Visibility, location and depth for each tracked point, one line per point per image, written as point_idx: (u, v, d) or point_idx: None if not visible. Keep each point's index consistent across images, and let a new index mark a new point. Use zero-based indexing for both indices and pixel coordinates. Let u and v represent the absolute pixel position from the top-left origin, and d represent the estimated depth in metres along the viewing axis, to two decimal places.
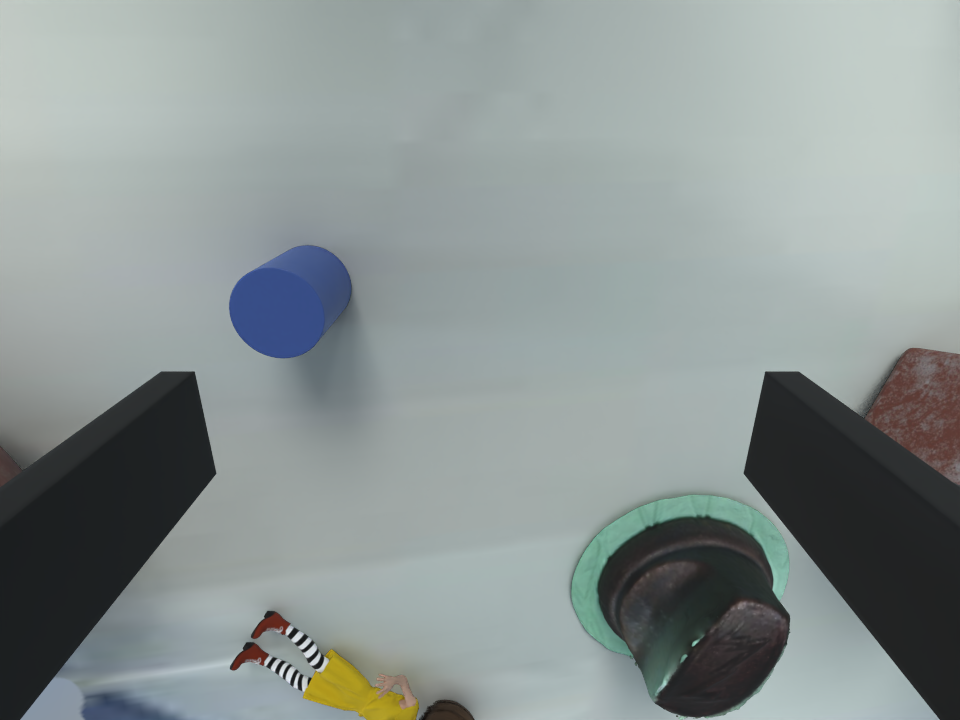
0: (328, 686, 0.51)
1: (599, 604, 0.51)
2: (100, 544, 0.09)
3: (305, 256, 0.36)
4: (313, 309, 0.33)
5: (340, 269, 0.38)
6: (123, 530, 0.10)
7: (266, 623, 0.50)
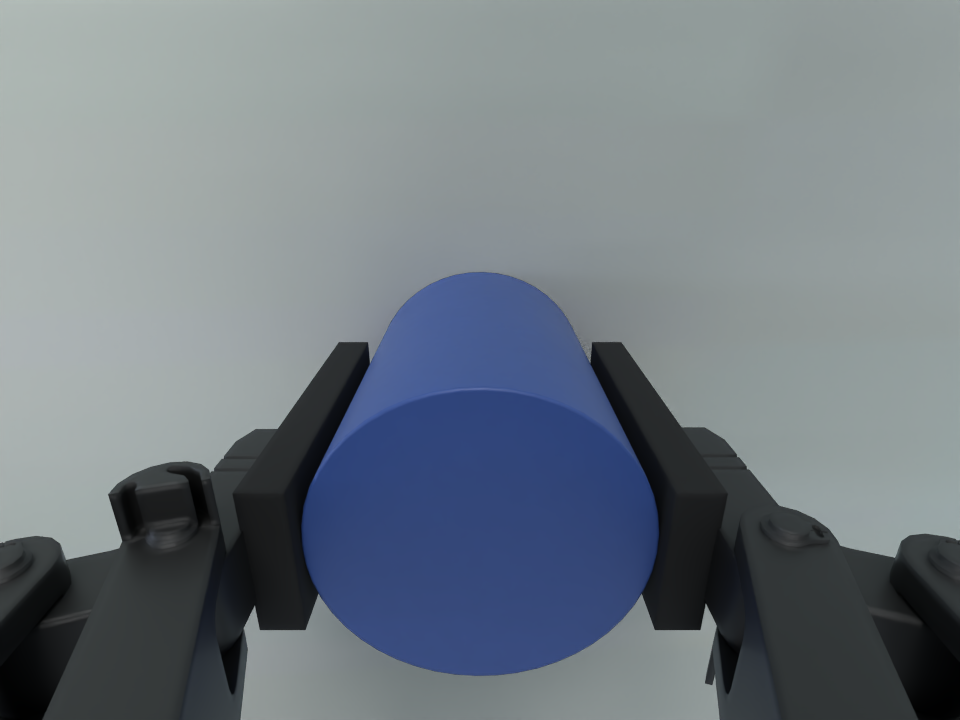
0: None
1: None
2: None
3: (522, 314, 0.12)
4: (622, 536, 0.09)
5: (577, 338, 0.14)
6: None
7: None
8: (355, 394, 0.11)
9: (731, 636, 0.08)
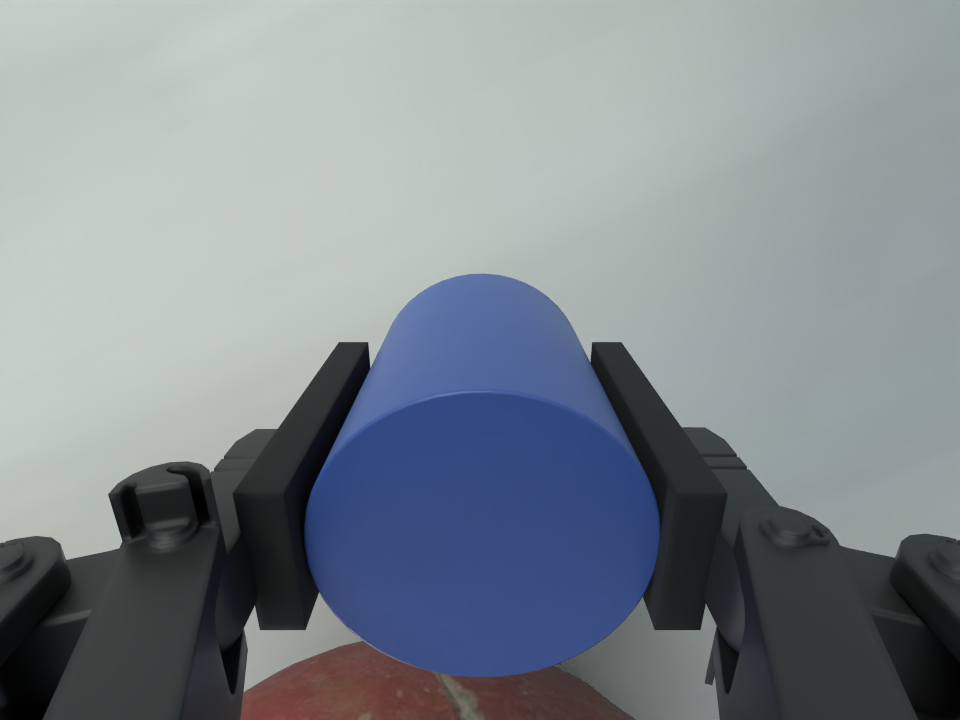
0: None
1: None
2: None
3: (524, 316, 0.12)
4: (624, 538, 0.09)
5: (578, 340, 0.14)
6: None
7: None
8: (357, 396, 0.11)
9: (731, 636, 0.08)
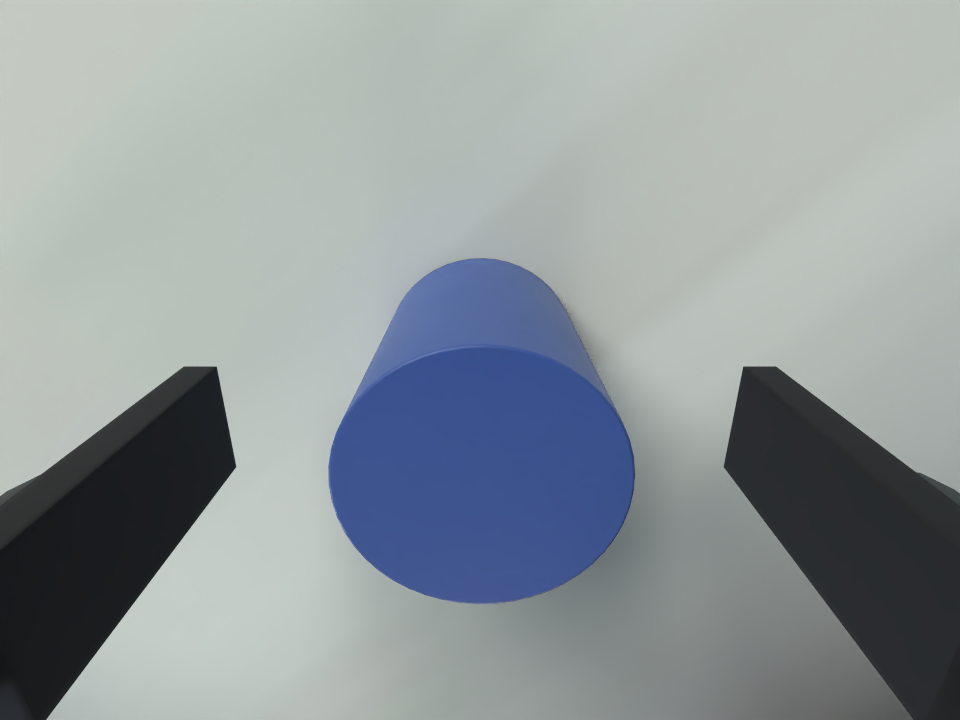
0: None
1: None
2: (133, 532, 0.09)
3: (518, 292, 0.13)
4: (603, 476, 0.10)
5: (569, 318, 0.16)
6: (152, 520, 0.10)
7: None
8: (371, 361, 0.12)
9: None
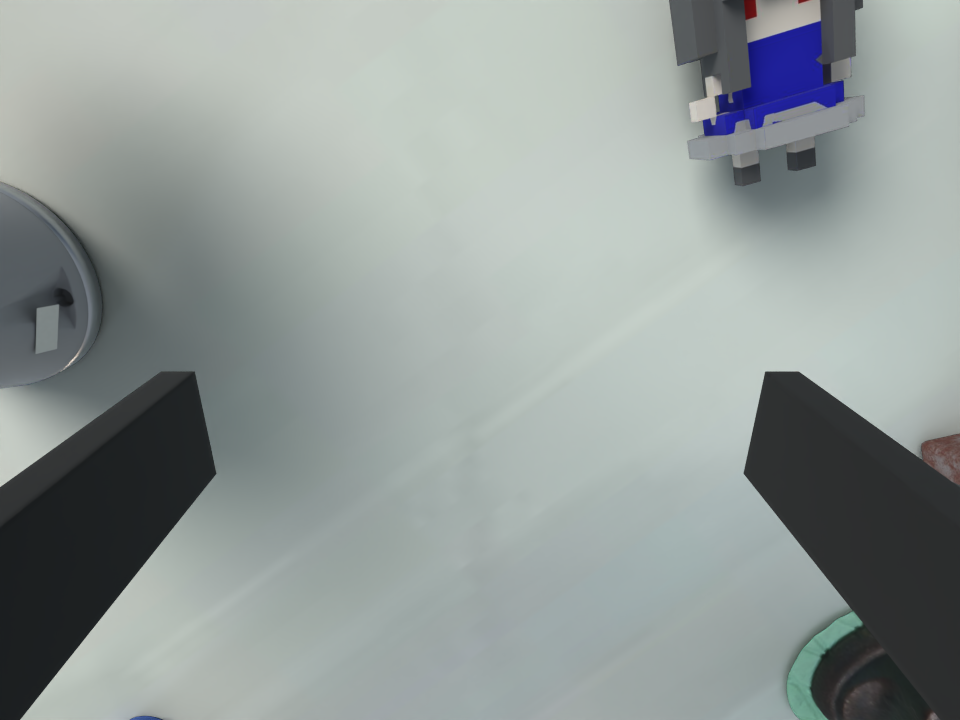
0: None
1: None
2: (100, 544, 0.09)
3: None
4: None
5: None
6: (123, 530, 0.10)
7: None
8: None
9: None
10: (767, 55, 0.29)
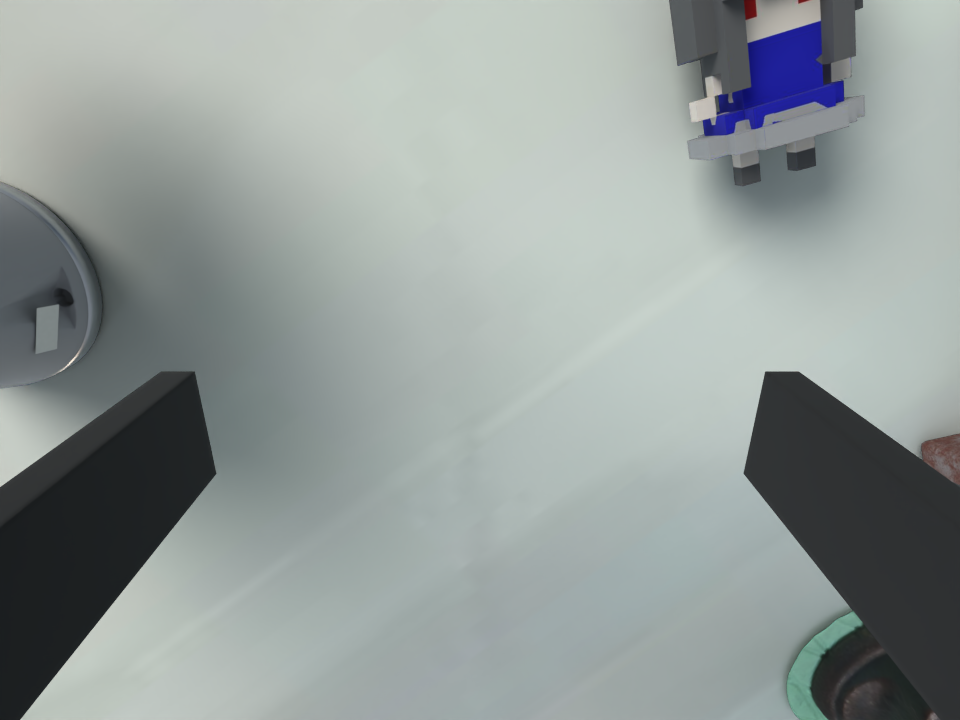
0: None
1: None
2: (100, 544, 0.09)
3: None
4: None
5: None
6: (123, 530, 0.10)
7: None
8: None
9: None
10: (767, 55, 0.29)
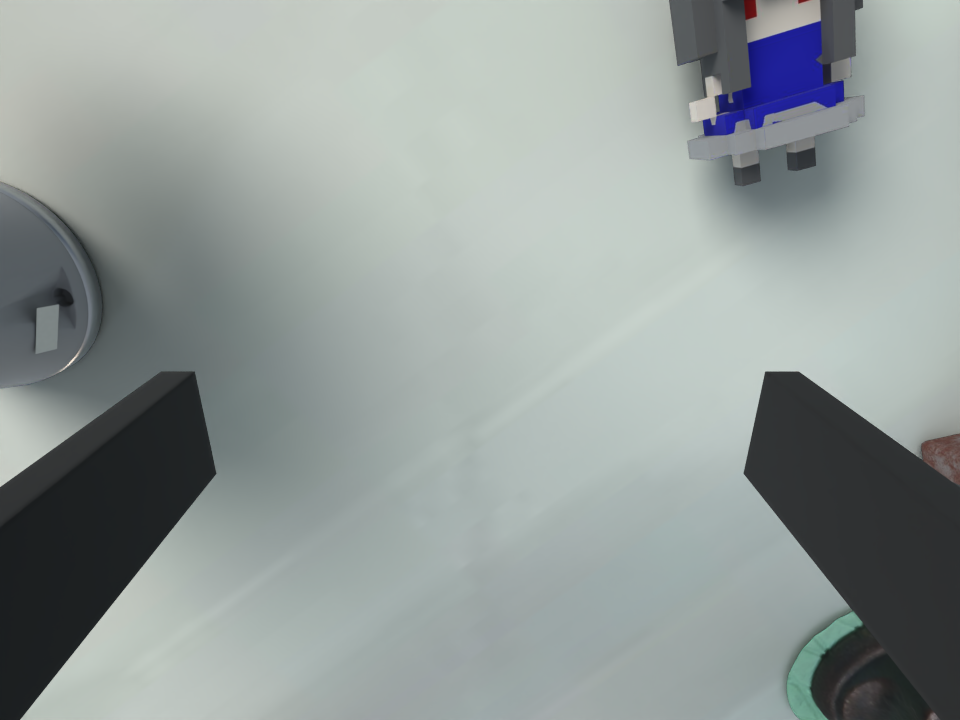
0: None
1: None
2: (100, 544, 0.09)
3: None
4: None
5: None
6: (123, 530, 0.10)
7: None
8: None
9: None
10: (767, 55, 0.29)
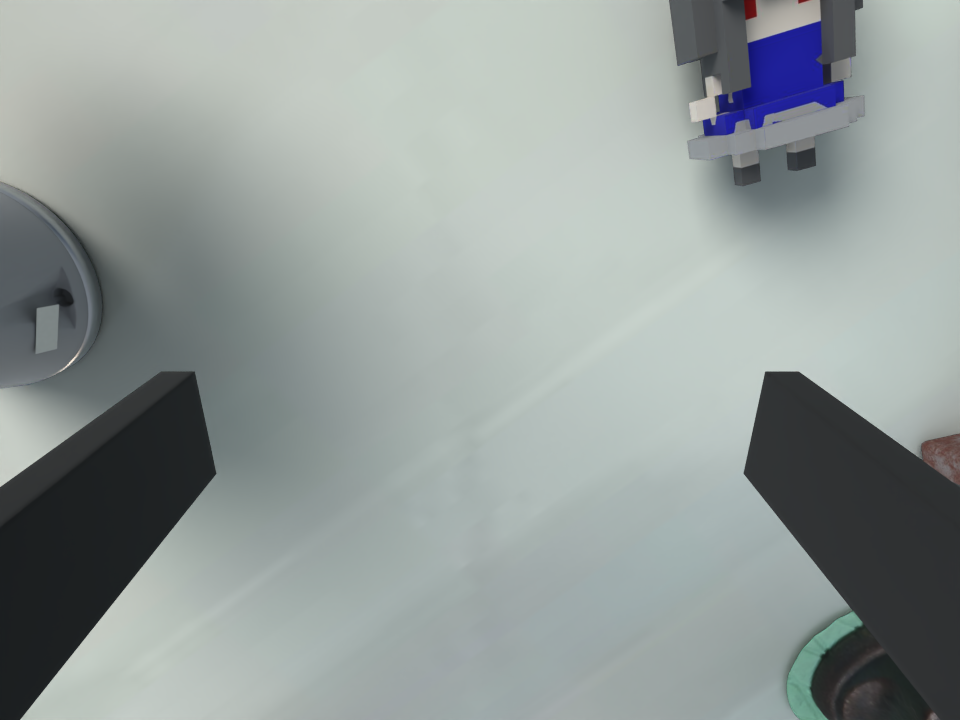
0: None
1: None
2: (100, 544, 0.09)
3: None
4: None
5: None
6: (123, 530, 0.10)
7: None
8: None
9: None
10: (767, 55, 0.29)
